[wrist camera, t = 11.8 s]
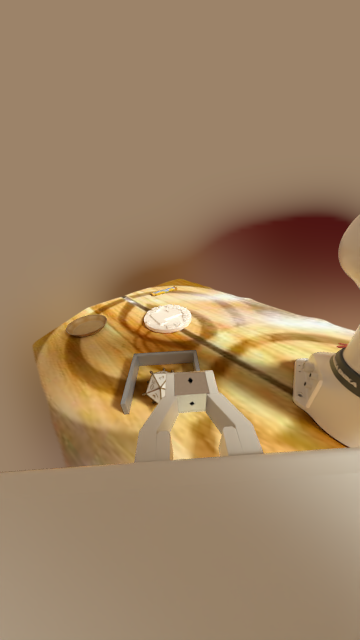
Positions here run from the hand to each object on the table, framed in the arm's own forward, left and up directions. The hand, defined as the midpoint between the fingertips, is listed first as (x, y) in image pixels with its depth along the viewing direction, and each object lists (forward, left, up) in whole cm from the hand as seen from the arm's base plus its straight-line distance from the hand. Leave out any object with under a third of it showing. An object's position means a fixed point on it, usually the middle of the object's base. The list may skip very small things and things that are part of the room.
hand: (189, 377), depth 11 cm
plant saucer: (-30, -53, -28) cm, 67 cm away
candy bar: (-74, -40, -29) cm, 89 cm away
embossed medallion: (-46, -25, -28) cm, 60 cm away
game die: (-13, -11, -28) cm, 33 cm away
